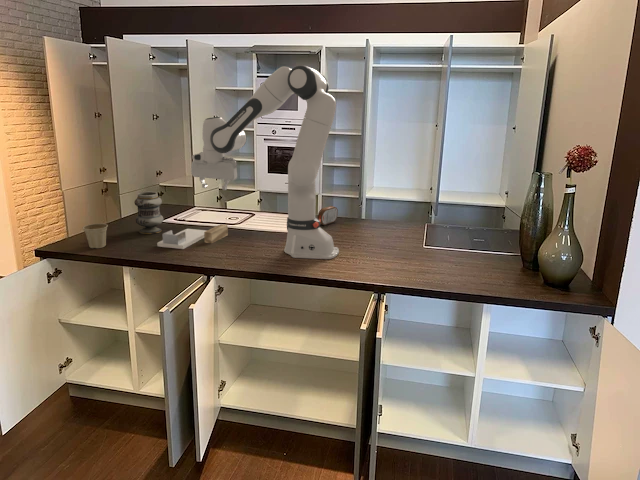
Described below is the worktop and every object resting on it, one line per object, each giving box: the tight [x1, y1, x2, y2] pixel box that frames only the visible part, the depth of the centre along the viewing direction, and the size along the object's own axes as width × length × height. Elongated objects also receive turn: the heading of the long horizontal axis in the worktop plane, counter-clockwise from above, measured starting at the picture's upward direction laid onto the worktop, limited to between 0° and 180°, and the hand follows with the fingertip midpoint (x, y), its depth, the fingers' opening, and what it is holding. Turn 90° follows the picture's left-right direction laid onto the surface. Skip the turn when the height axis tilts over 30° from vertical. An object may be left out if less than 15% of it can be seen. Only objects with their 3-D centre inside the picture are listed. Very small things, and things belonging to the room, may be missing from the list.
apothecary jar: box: [134, 191, 164, 235], centre depth 221 cm, size 12×12×18 cm
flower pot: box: [82, 223, 109, 249], centre depth 199 cm, size 9×9×9 cm
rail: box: [203, 223, 229, 244], centre depth 214 cm, size 4×14×5 cm, turn 162°
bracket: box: [156, 228, 207, 250], centre depth 211 cm, size 12×24×6 cm, turn 165°
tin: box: [316, 205, 339, 226], centre depth 243 cm, size 15×3×8 cm, turn 144°
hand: (214, 188), depth 208 cm, fingers open, 8 cm apart
